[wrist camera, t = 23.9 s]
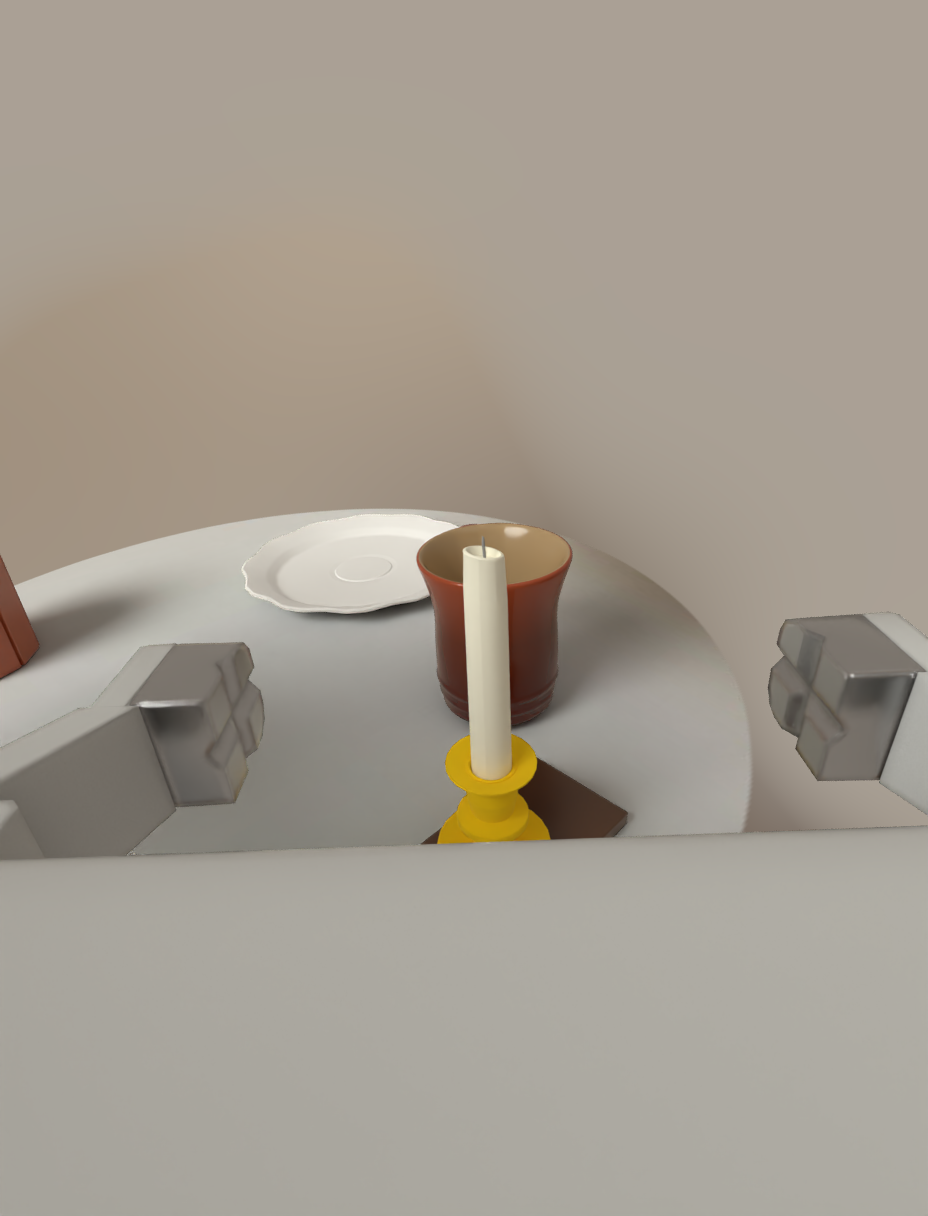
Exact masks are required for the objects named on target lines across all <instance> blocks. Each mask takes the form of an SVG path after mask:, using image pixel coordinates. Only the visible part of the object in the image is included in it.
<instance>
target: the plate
mask: <svg viewBox="0 0 928 1216" xmlns="http://www.w3.org/2000/svg"><path fill="white" fill-rule="evenodd" d="M455 528H460V527H459V526H457V525H454V524H452V523H448V522H443V521H437V520H433V519H430V518H427V517H424V516H419V515H411V514H399V515H383V514H366V515H356V516H351V517H347V518H342V519H337V520H329V521H321V522H318V523H314V524H310V525H307V526H304V527H302V528H300V529H298V530H296V531H294V532H292V533H289V534H286V535H283V536H280V537H277V538H274V539H272V540H271V541H269V542H267V543H266V544H264V545H263V546H262V547H261V548H260V550H259V551H258V552H257V553H256V554H255V555H254V556H252V557H251V558H250V559H248V560H247V561H246V562H245V563H244V565H243V567H242V569H241V570H242V573H243V574H244V576H245V578H246V582H245V589H246V590H247V591H248V592H249V593H250V594H251V595H252V596H253V597H257V598H260V599H263V600H267V601H270V602H271V603H273V604H274V605H276V606H278V607H279V608H281V609H284V610H289V611H295V612H333V613H343V614H352V613H362V612H370V611H374V610H377V609H380V608H386V607H390V606H393V605H396V604H403V603H409V602H415V601H418V600H421V599H424V598H426V597H429V596H430V594H429V592H428V589H427V587H426V584H425V582H424V580H423V577H422V575H421V573H420V571H419V568H418V566H417V562H416V556H417V553H418V550H419V549H420V548H421V546H422V545H423V544H424V543H426V542H427V541H428V540H430V539H431V538H433V537H435V536H437V535H439V534H441V533H443V532H446V531H449V530H451V529H455Z"/></svg>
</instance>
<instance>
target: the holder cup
mask: <svg viewBox="0 0 928 1216" xmlns="http://www.w3.org/2000/svg"><path fill="white" fill-rule="evenodd" d="M39 645H40V644H39V642H38V640H37V637H36V635H35V633H34V631H33V628H32V626H31V624H30V621H29V619H28V617H27V615H26V612H25V610H24V608H23V605H22V603H21V601H20V599H19V596H18V594H17V592H16V589H15V587H14V585H13V583H12V580H11V578H10V576H9V574H8V571H7V569H6V567H5V564H4V562H3V560H2V558H1V555H0V678H2V677H4V676H6V675H8V674H9V673H11V672H13V671H15V670H17V669H19V668H21V665H25V664H26V663H27V662H28V661H29V659H30V658H31V657H32V656H33V655H34V653H35V652H36V651H37V650H38V648H39Z"/></svg>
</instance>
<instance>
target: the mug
mask: <svg viewBox="0 0 928 1216" xmlns="http://www.w3.org/2000/svg"><path fill="white" fill-rule="evenodd" d="M482 536H483V537H484V540H485V546H486V547H491V548H494V549H497V550H499V551H501V552H502V553H503V554H504V557H505V570H506V584H507V598H508V635H509V673H510V711H511V726H513V725H517V724H521V723H524V722H526V721H529V720H531V719H533V718H535V717H536V716H538V715H539V714H541V713H542V712H543V711H544V710H545V709H546V708H547V707H548V705H549V704H550V702H551V700H552V697H553V691H554V687H555V682H556V678H557V675H558V663H557V662H558V626H557V609H558V601H559V596H560V592H561V589H562V586H563V583H564V580H565V577H566V575H567V572H568V569H569V567H570V564H571V561H572V556H573V555H572V549H571V547H570V545H569V544H568V543H567V541H565V540H564V539H563V538H562V537H560V536H558V535H557V534H555V533H553V532H550V531H547V530H544V529H541V528H537V527H533V526H527V525H521V524H511V523H488V524H469V525H464V526H461V527H460V528H455V529H451V530H449V531H446V532H443V533H441V534H439V535H437V536H435V537H433V538H431V539H430V540H428V541H427V542H426V543H424V544H423V545H422V546H421V548H420V549H419V550H418V553H417V556H416V562H417V566H418V568H419V571H420V573H421V575H422V577H423V580H424V582H425V584H426V587H427V589H428V592H429V594H430V597H431V600H432V604H433V609H434V616H435V639H436V656H437V676H438V679H439V682H440V688H441V691H442V693H443V696H444V700H445V702H446V704H447V706H448V707H449V708H450V710H451V711H452V712H453V713H455V714H456V715H457V716H459V717H460V718H462V719H464V720H466V721H468V722H469V703H468V681H467V660H466V638H465V616H464V595H463V549H464V548H465V547H468V546H482Z"/></svg>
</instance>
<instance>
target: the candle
mask: <svg viewBox="0 0 928 1216" xmlns="http://www.w3.org/2000/svg"><path fill="white" fill-rule="evenodd" d="M463 595H464V616H465V638H466V660H467V681H468V703H469V724H470V735H468V736H466V737H464V738H462V739H460V740H459V741H458V742H456V743H455V744H454V745H453V746H452V747H451V749H450V750H449V752H448V753H447V756H446V760H445V766H446V772H447V774H448V776H449V778H450V780H451V781H452V782H453V783H454V784H455V785H456V786H457V787H459V788H461V789H463V790H465V791H466V793H467V795H466V796H464V797H463V798H462V800H461V802H460V803H459V805H458V809H457V811H456V812H455V813H454V814H453V815H452V816H451V817H449V818H448V819H447V820H446V822H445V824H444V825H443V827H442V829H441V830H440V834H439V838H438V842H437V844H449V843H476V842H502V841H529V840H551V839H550V835H549V832H548V829H547V827H546V826H545V824H544V823H543V821H542V820H541V819H540V818H539V817H538V816H537V815H536V814H535V813H534V812H533V811H531V810H530V809H528V805H527V803H526V801H525V800H524V798H523V797H522V796H521V795H520V794H518V789H520V788H522V787H523V786H525V785H526V784H527V783H528V782H529V781H530V780H531V779H532V778H533V776H534V774H535V772H536V769H537V758H536V755H535V752H534V750H533V749H532V748H531V746H530V745H529V744H528V743H527V742H525V741H524V740H523V739H522V738H519V737H517V736H515V735H513V734H511V711H510V673H509V635H508V598H507V584H506V570H505V557H504V554H503V553H502V552H501V551H499V550H497V549H494V548H491V547H486V546H485V540H484V537H483V536H482V546H468V547H465V548H464V549H463Z"/></svg>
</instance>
